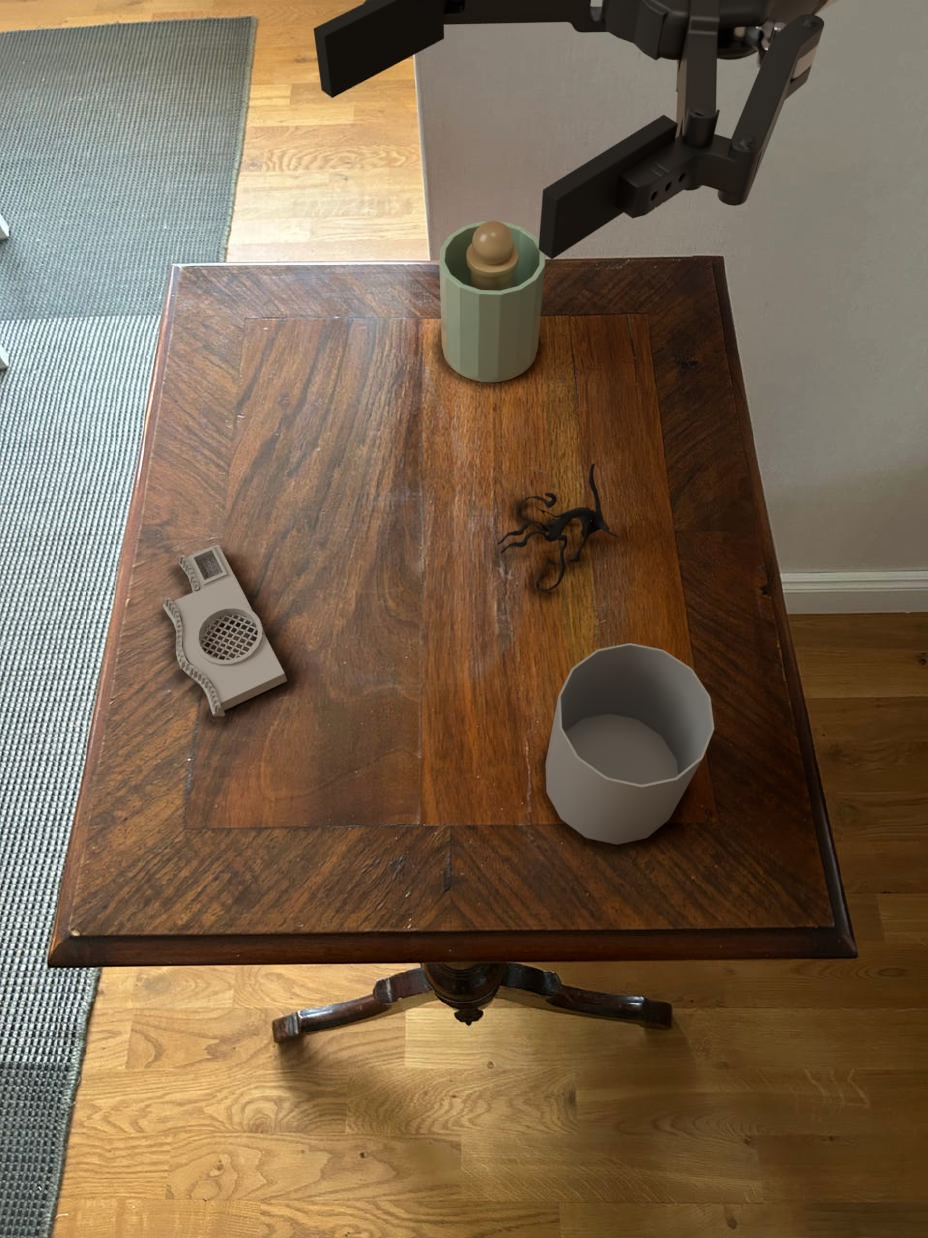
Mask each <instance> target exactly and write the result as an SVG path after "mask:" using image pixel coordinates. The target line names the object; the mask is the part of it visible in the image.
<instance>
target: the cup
mask: <svg viewBox="0 0 928 1238" xmlns="http://www.w3.org/2000/svg"><path fill="white" fill-rule="evenodd" d="M712 706H713V705H712V699H711V696H710V694H709V692H708V691H707V690H706V688H705V686H704V685H703V683H702V682H701V680H700V679H699V677H698V675H697V674H696V672H695V671H694V670H693V668H691V666H689V665H687V664H686V663H684V662H682V661H681V660H680V659H678V658H676V657H675V656H674V655H672V654H670V653H669V652H667V651H666V650H664V649H661V648H656V647H652V646H647V645H641V644H637V643H632V642H629V643H623V644H617V645H613V646H608V647H603V648H598V649H596V650H594V651H593V652H592V653H591V654H589V655H588V656H587V657H585V658H584V659H582V660H581V661H579V662H578V663H577V664H575V665H574V666H573V667H572V668H571V669H570V671H569V674H568V675H567V677H566V679H565V681H564V683H563V686H562V687H561V689H560V692H559V694H558V695H557V701H556V706H555V712H554V717H553V722H552V728H551V732H550V738H549V743H548V749H547V754H546V760H545V780H546V781H545V785H546V787H545V788H546V794H547V796H548V798H549V800H550V801H551V803H552V805H553V807H554V809H555V811H556V812H557V814H558V816H559V818H560V819H561V820H562V821H563V822H564V823H565V824H567V825H568V826H570V827H571V828H572V829H573V830H575V831H576V832H577V833H579V834H580V835H581V836H583V837H584V838H585V839H589V840H594V841H597V842H598V841H599V842H602V843H603V842H604V843H607V844H613V845H622V844H626V843H627V844H628V843H630V842H635V841H640V840H644V839H648V838H649V837H650V836H651V835H652V834H654V833H655V832H656V831H657V830H658V829H660V828H661V827H662V826H663V825H664V824H666V823H667V822H668V821H669V820H670V819H671V817H672V816H673V813H674V811H675V810H676V808H677V806H678V804H679V802H680V801H681V798H682V797H683V795H684V793H685V792H686V790H687V788H688V786H689V784H690V782H691V780H692V779H693V777H694V775H695V773H696V772H697V770H698V768H699V766H700V765H701V762H702V760H703V759H704V756H705V754H706V752H707V749H708V746H709V745H710V744H709V743H710V741H711V738H712V736H713V734H714V731H715V722H714V715H713V708H712Z"/></svg>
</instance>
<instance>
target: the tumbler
mask: <svg viewBox="0 0 928 1238" xmlns="http://www.w3.org/2000/svg"><path fill="white" fill-rule="evenodd" d="M488 221H489V220H483V221H478V222H475V223H470V224H467V225H463V226H462V227H460V228H458V229H457V230H456V231H453V232H452V233H451V234H450V235H448V237H447V238H446V239H445V241H444V242H443V244H442V245H441V247H440V251H439V261H438V263H439V264H438V265H439V266H438V269H439V296H440V299H439V300H440V326H441V328H440V334H441V335H440V336H441V347H442V348H441V349H442V353H443V356H444V359H445V361H446V363H447V364H448V365H449V367H450V368H451V369H453V371H455V372H456V373H457V374H459V375H460V376H462V377H465V378H466V379H469V380H472V381H475V382H481V383H501V382H505V381H509V380H511V379H515V378H516V377H518V376H521V375H522V374H523V373H525V372H526V371H527V370H528V369H529V368H530V367H531V366H532V364H533V363H534V361H535V359H536V357H537V354H538V350H539V338H540V329H541V328H540V326H541V318H542V317H541V316H542V303H543V293H544V292H543V291H544V280H545V268H546V255H545V254H544V253H542V252H541V251H540V250H538V249H539V238H538V237H537V236H535V235H534V234H533V233H531V232H530V231H528V230H527V229H526V228H524V227H522V226H519V225H516V224H513V223H510V222H508V221H500V220H499V221H498V220H497V221H498V222H501V223H503V224H505V225H506V226H507V227H508V228H509V229H510V231H511V232H512V235H513V238H514V244H515V245H516V247H517V249H518V252H519V262H518V265H517V267H516V268H515V270H514V280H513V288H509V289H505V290H501V291H494V290H479V289H476V288H473V287H470V275H471V269H470V268H469V266H468V264H467V260H466V253H467V249H468V247H469V246H470V244H471V243H472V239H473V235H474V233H475V231H476V230H477V228H478V227H479V226H480V225H482V224H483V223H485V222H488Z"/></svg>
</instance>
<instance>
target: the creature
mask: <svg viewBox="0 0 928 1238" xmlns="http://www.w3.org/2000/svg"><path fill="white" fill-rule="evenodd" d="M595 465H596V463H592V464H591V465H590V468H589V473H588V484H589V487H590V490H591V493H592V494H593V499H594V509H595V510H594V509H591V508H590V507H586V506H585V507H583V506H579V507H575V508H573V509H570V510H567V511H564V512H562V513H559V514H558V515H555V514H553V513H552V512H549V511H546V510H543V509H541V508H539V507H536V509H537V510H539V511H540V512H541V513H542V514H543V516H544V518H545V520H546V523H545V524H544V523H542V522H540V521H537V520H531V519H530V518H528V517H526V516H523V515H521V513H520V509H521V506H522V505H523V503H524V502H526V501H528V500H530V499H534V500H538V501H540V502H542V503H543V504H544V505H545V507H546V508H548V509H550V508H552V507H554V506H555V505H556V503H557V496H556V494H554V493H553V492H545V493H544V496H545V497H548V498H550V499H551V500H549V501H548V500H547V499H546V498H544V497H542V496H539V495H532V496H527V497H526V498H525V499H523V500H522V501H520V503H519V505H518V507H517V510H516V514H517V516H518V517H520V518H521V519H523V520H525V521H526V522H525V523H524V524H523V525H522V526H521V528H520V529H519V530H512V531H509V532H507V533H506V535H504V536H503V537H502V538H501V539H500V540H499V542H498V543H497V544H498V545H501V544H502V543H503V542H505V541H506V539H507V538H508V537H511V536H512V537H514V536H516V537H517V536H522V535H523V534H524V532H525V530H526V529H527V528H528V527H529V526H531V524H533V525H534V527H536V529H538V530H539V531H538V530H537V531H536V530H533V531H531V532H529V533H527V534H526V535H525V536H524V537H523V540H522V541H514V542H510V543H509V544H507V546H505V547H504V548H503V549H502V550H500V552H499V553H500V554H503V553H504V552H505V551H507V550H508V548H511V547H518V548H524V547H526V546H527V544H528V540H529V539H530V538H532V536H534V535H536V534H541V535H542V536H543V538H544V540H545V541H547V542H548V543H552V542H555V541H559V542H563V544H562V546H561V547H560V549H559V559H560V560H559V561H560V563H557V565H558V566H560V567H561V569H560V572H559V575H558V578H557V581H556V583H555V584H554V585H551V587H549V588H540V587H539V586H538V582H539V580H540V579H541V578H542V577H543V576H544V574H545V572H546V570H547V567H548V566H549V564H551V563H553V564H555V562H554V561H552V560H551V559H550V557H547V561H546V563H545V566H544V569H543V570H542V572H541V573H540V575H539V577H538V578H537V579H536V581H535V587H536V589H538V590H539V591H542V592H549V591H552V590H554V589H556V588H557V587H558V586H559V585H560V584H561V582H562V580H563V578H564V575H565V573H566V565H567V564H568V563H569V562H578V561H579V560H580V558H581V554H582V550H583V549H584V546H585V545H586V543H587V541H588V539H589V538H590V536H591V535H592V534H594V533H596V532H598V531H600V530H602V531H603V532H604V533H606V534H607V535H610V536H613V537H615V538H616V537H617V538H618V537H619V535H617V534H615V533H613V532H611V530H610V526H609V525H608V524H607V522H606V521H605V519H604V516H603V513H602V507H601V501H600V496H599V491H598V489H597V486H596V483H595V476H594V473H595V472H594V470H595ZM546 513H547V514H549V515H551V516H553V517H554V518H552V519H550V520H548V518H546ZM555 518H556V519H555ZM573 519H578V520H579V521H580V523H581V531H580V533H581V535H580V536H581V537H582V538H583V540H582V543H581V545H580V546H579V548H578V549H577V551H576V555H575V557H574V558H571V559H568V561H565V556H564V555H565V554H564V552H565V550H566V548H567V545H568V541H569V538H568V535H566V534H563V532H564V530H565V527H566V526H567V525H569V524H570V523H571V521H572V520H573ZM538 524H539V525H538ZM545 532H547V533H548V534H546V533H545ZM498 545H497V546H498Z"/></svg>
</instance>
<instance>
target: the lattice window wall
mask: <svg viewBox="0 0 928 1238" xmlns="http://www.w3.org/2000/svg"><path fill="white" fill-rule="evenodd" d="M178 564H179V566H180V567H181V569H182V570H183V571H184V573H185V574H186V575H187V578H188V579H189V584H190V587H191V591H192V592H191V593H189V594H185V595H184V596H181V597H179V598H176V599H175V600H172V598H171V597H170V596H168V597H165V598H164V603H163V604H162V608H163V609H164V611H165V612H166V614H167V616H168V617H169V619H170V620H171V622H172V624H173V626H174V628H175V633H176V635H175V637H176V640H175V654H176V661H177V663H178V664H179V668H180V669H181V670H182V671H183V672H184V673H185V674H187V675H188V676H189V677H190V678H191V679H192V680H194V681H195V682H196V683H197V684H198V685H200V687H201V688H202V690H203V692H204V693H205V694H206V697H207V701H208V703H209V707H210V710H211V713H212V716H213V717H214V718H216V717H226V713H225V711H226V710H228V709H230V708H233V707H235V706H237V705H240V704H242V703H243V702H246V701H247V700H249V699H252V698H254V697H255V696H259V695H261V694H263V693H265V692H266V691H269V690H271V689H273V688H275V687H278V686H279V685H281V684H284V683H286V682H287V681H288V680H287V676H286V673H285V671H284V669H283V668H282V666H281V664H280V662H279V660H278V657H277V656H276V654H275V652H274V649H273V648H272V645H271V644H270V643H269V640H268V638H267V637H266V633H265V630H264V627H263V625H262V622H261V619H260V618H259V616H258V615H257V614H256V613H255V612H254V611H253V609H252V607H251V605H250V603H249V601H248V599H247V597H246V595H245V593H244V591H243V589H242V587H241V585H240V583H239V581H238V580H237V577H236V575H235V574H234V572H233V570H232V568H231V566H230V564H229V562H228V561H227V558H226V556H225V554H224V552H223V550H222V548H221V546H220V545H219V543H218V544H215V545H212V546H209V547H206V548H205V549H202V550H199V551H198V552H195V553H192V554H191V555H189V556H186V555H185V554H182V555H179V558H178ZM231 622H234V623H233V624H231ZM223 624H224V626H223V627H221V626H222V625H223ZM237 624H240V625H239V627H238V626H236V625H237ZM243 626H245V627H246V628H245V629H243V628H242V627H243ZM227 627H230V629H229V630H228V629H227ZM250 628H251V629H253V631H252V632H251V631H250V632H249V629H250ZM218 629H219V630H220V632H217V631H216V630H218ZM233 629H236V631H235V632H233ZM223 632H226V634H225V635H224V634H223ZM239 632H242V634H241V635H240V634H238V633H239ZM256 632H257V634H255V633H256ZM214 634H215V635H216V637H213V635H214ZM246 634H247V635H249V636H248V638H247V637H246V636H245V635H246ZM229 635H232V636H231V637H228V636H229ZM244 636H245V637H244ZM219 637H222V639H219ZM235 637H237V638H238V639H237V640H236V639H235ZM253 637H255V638H256V640H255V641H254V640H252V638H253ZM210 639H211V640H213V641H209V640H210ZM226 640H228V642H225V641H226ZM241 640H244V643H242V642H241ZM216 642H218V644H217V643H216ZM232 642H233V643H235V644H234V645H233V644H231V643H232ZM207 643H208V644H210V645H209V646H206V644H207ZM248 643H252V645H251V646H249V645H247V644H248ZM222 645H225V646H222ZM238 645H240V646H241V648H240V647H237V646H238ZM213 646H215V649H213V648H212V647H213ZM228 647H230V648H231V649H228ZM244 648H247V649H248V651H246V650H244ZM219 649H222V650H221V651H220V652H219V651H218V650H219ZM234 650H237V652H235V651H234ZM209 651H210V652H212V653H211V654H210V653H209ZM224 652H228V653H227V654H225V653H224ZM241 653H244V654H241ZM215 654H217V656H214V655H215ZM230 655H235V656H234V657H232V656H230ZM221 657H224V658H223V659H222V658H221Z"/></svg>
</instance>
